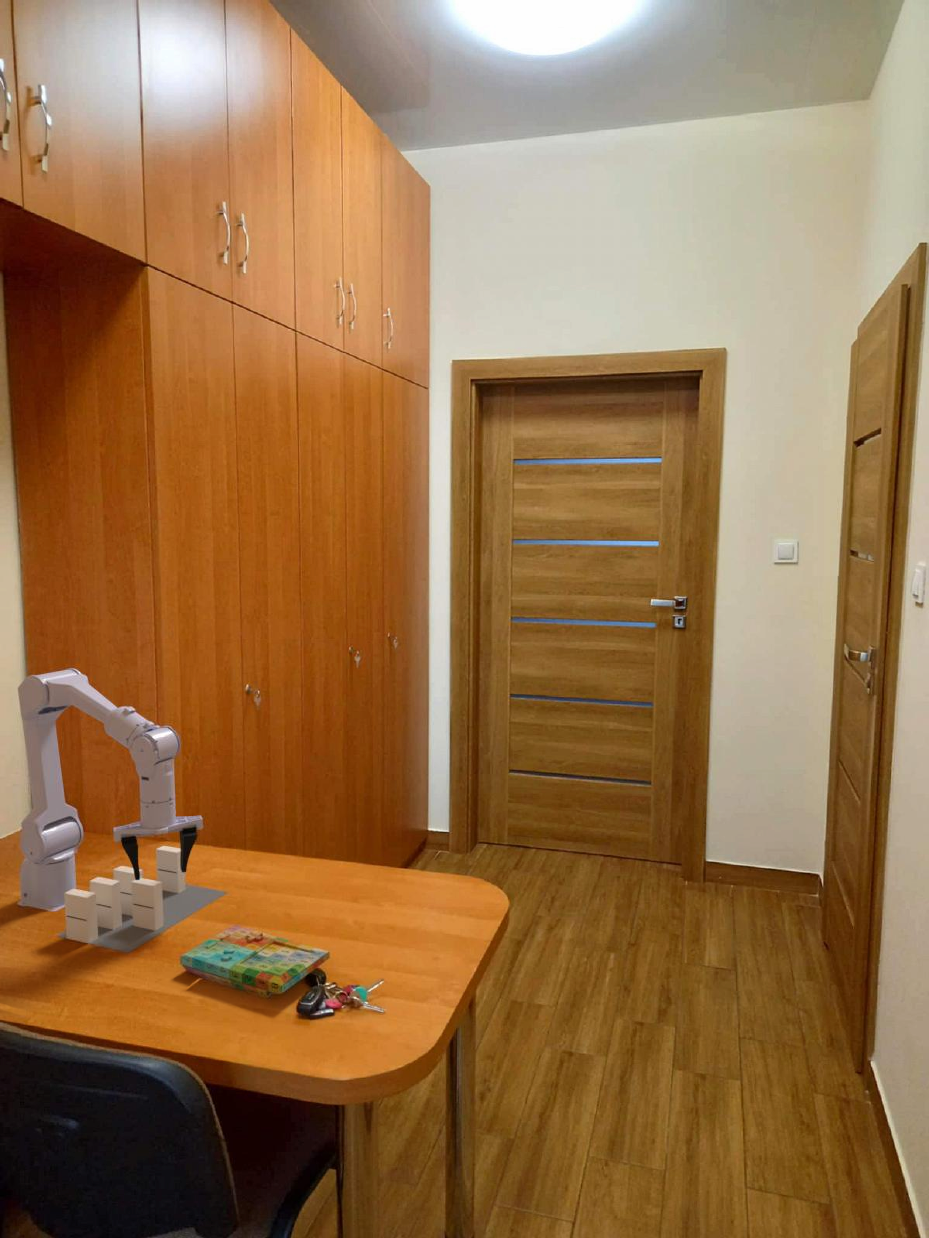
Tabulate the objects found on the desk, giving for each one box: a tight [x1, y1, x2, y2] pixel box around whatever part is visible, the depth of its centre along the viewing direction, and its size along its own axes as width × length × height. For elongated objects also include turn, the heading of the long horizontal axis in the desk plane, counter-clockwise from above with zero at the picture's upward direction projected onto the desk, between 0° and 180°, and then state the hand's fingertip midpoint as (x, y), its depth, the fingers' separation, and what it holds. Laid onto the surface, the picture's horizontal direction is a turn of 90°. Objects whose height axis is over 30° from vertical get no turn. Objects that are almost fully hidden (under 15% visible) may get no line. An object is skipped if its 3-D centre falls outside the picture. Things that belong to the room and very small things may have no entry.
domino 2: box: [89, 876, 122, 930], centre depth 155 cm, size 2×5×8 cm, turn 67°
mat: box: [55, 883, 229, 954], centre depth 160 cm, size 16×26×1 cm, turn 157°
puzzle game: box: [179, 924, 331, 999], centre depth 139 cm, size 12×5×20 cm
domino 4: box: [131, 877, 164, 931], centre depth 154 cm, size 2×5×8 cm, turn 67°
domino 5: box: [155, 845, 186, 893], centre depth 170 cm, size 2×5×8 cm, turn 67°
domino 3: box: [112, 865, 144, 916], centre depth 160 cm, size 2×5×8 cm, turn 67°
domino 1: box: [64, 888, 98, 944], centre depth 150 cm, size 2×5×8 cm, turn 67°
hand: (160, 874), depth 154 cm, fingers open, 7 cm apart
